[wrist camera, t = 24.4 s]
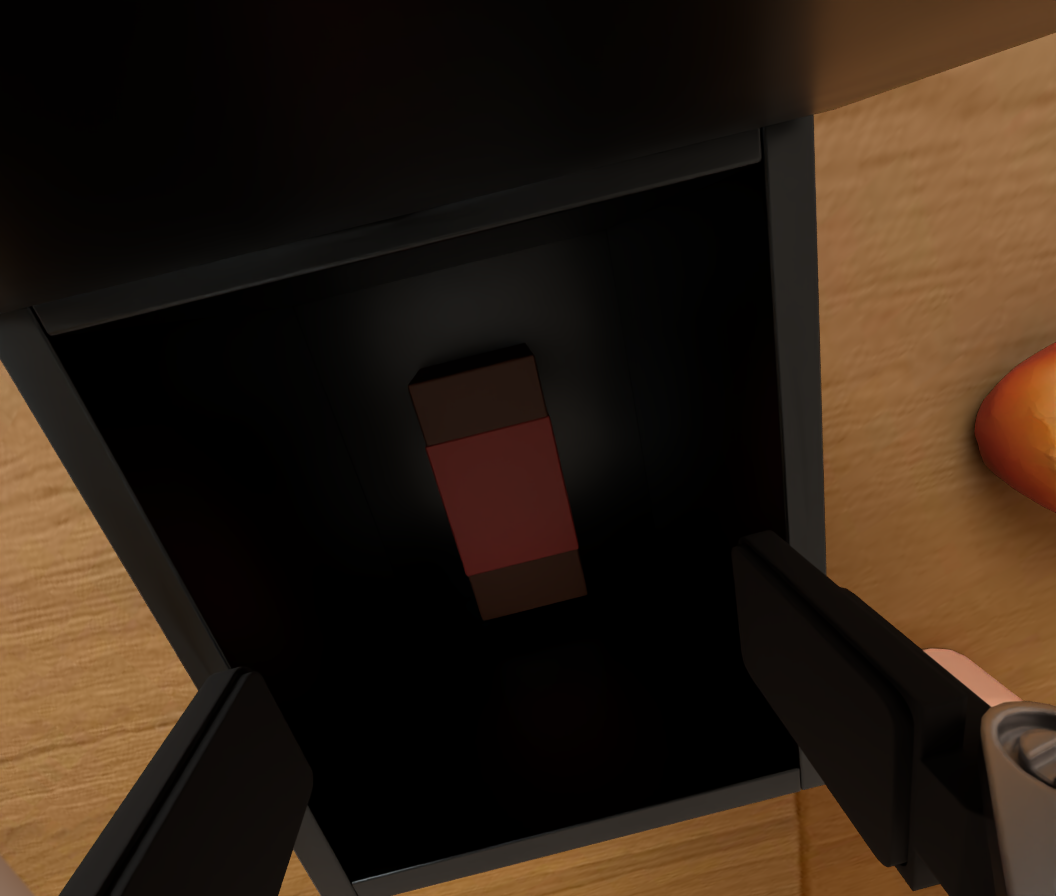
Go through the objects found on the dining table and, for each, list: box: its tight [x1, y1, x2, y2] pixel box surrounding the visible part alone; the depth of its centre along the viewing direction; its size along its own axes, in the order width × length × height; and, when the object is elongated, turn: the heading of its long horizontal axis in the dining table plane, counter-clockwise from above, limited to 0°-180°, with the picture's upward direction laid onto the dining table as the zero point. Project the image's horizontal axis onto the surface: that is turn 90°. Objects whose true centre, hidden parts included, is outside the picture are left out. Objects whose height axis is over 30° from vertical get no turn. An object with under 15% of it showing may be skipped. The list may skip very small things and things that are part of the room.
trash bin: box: [0, 115, 826, 896], centre depth 15 cm, size 15×13×11 cm
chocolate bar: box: [408, 343, 588, 621], centre depth 18 cm, size 9×4×3 cm, turn 13°
